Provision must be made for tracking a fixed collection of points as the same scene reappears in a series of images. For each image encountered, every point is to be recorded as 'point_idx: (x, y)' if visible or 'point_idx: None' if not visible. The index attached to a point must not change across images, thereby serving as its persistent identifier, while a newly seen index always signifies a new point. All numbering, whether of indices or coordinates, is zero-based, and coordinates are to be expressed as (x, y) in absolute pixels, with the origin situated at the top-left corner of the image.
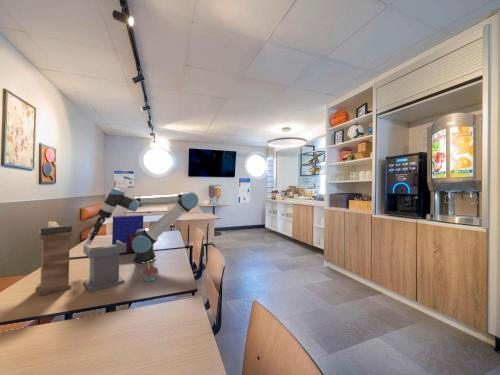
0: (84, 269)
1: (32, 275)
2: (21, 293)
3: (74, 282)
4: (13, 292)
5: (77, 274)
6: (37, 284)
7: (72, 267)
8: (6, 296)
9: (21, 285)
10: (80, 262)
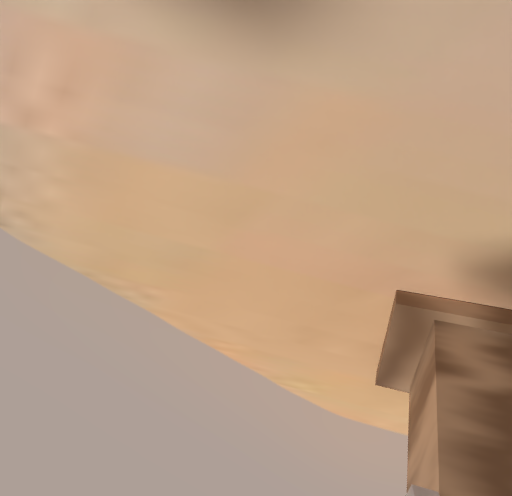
0: (244, 159)
1: (187, 331)
2: (407, 410)
3: (500, 281)
4: (365, 411)
5: (331, 223)
6: (380, 385)
7: (149, 200)
8: (392, 428)
9: (298, 381)
10: (53, 135)
